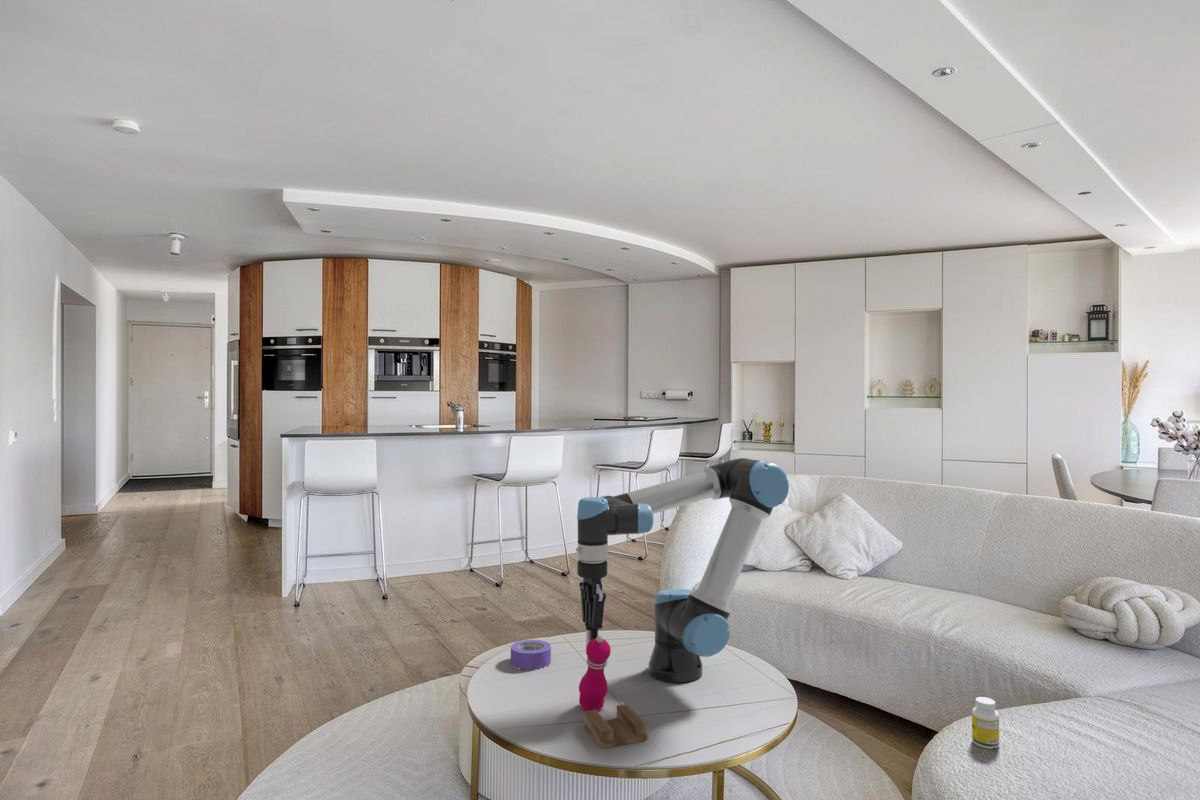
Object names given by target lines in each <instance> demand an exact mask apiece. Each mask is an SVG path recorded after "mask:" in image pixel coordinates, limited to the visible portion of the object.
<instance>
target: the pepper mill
mask: <svg viewBox="0 0 1200 800" xmlns="http://www.w3.org/2000/svg"><path fill="white" fill-rule="evenodd" d="M611 652H612V651H611V646H610V644H609V642H608V641H607V640H606V639H604V637H603V635H600V634H598V636H597V638H595V639H592V640H591V641H590V642H589V643H588V645H587V647H586V646H585V655H586V664H587V670H586V672H585V673H584V675H583V676H582V678H581V679H580V682H579V684H578V691H579V699H578V703H579V705H580V706H581V708H582V709H583V710H584V711H589V710H596V711H597V712H598V711H599V710H601V709H602V708H603V707H604V706H605V705H604V704H605V698H606V697H607V694H608V688H609V687H608V686H609V685H608V682H607V679H606V675H605V671H604V670H605V668H606V667H607V664H608V659H609V657H610V656H611Z"/></svg>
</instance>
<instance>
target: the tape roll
mask: <svg viewBox="0 0 1200 800" xmlns="http://www.w3.org/2000/svg"><path fill="white" fill-rule="evenodd" d="M551 663H552V645H551V644H550V643H549V642H548V641H546V640H540V639H525V640H520V641H515V642H514V643H512V644H511V645H510V665H511V667H513V666H514V667H513V668H515V667H516V668H515V669H517V668H520V669H519V670H521V669H524V670H523V671H533V670H532V669H537V670H541V669H540V668H542V669H545V668H546V667H545V666H547V665H549V664H550V665H551ZM550 665H549V666H550ZM544 667H545V668H544ZM547 667H548V666H547ZM525 669H526V670H525Z"/></svg>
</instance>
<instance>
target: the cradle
mask: <svg viewBox="0 0 1200 800" xmlns="http://www.w3.org/2000/svg"><path fill="white" fill-rule="evenodd" d="M583 726H584V729H585V730H586V731H587V732H588V735H590V736H591V738H592V739H593V741H595V743H596V744H597V745H598V747H599V748H600V749H602V750H604V749H608V748H614V747H618V746H619V747H620V746H623V745H624V746H625V745H629V744H634V743H639V742H644V741H647V740H648V739H647V738H648V737H647V722H646V721H644V720H643V718H642V717H641V716H640V715H638V714H637V713H636V711H635V710H634V709H633V708H631V706H630V705H628V703H626V704H620V705H619V704H618V705H616V718H609V719H604V717H603V716H602V715H601V714H600V713H599V712H598V711H596V710H589V711H588V710H584V725H583Z"/></svg>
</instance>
